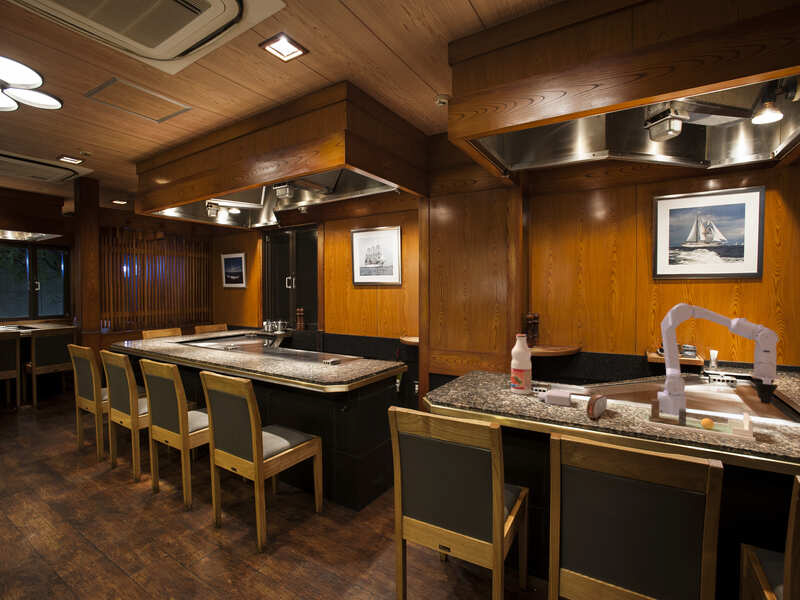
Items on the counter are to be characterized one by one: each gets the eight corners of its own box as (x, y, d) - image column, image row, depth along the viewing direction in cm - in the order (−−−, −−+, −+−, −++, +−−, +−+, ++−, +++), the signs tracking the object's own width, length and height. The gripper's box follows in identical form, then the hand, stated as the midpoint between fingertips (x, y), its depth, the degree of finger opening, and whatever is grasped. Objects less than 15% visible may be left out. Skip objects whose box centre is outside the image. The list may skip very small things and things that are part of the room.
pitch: (644, 428, 141) (644, 407, 141) (646, 419, 152) (646, 399, 152) (755, 446, 125) (755, 422, 125) (748, 434, 135) (748, 412, 135)
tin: (600, 411, 162) (600, 391, 162) (608, 413, 159) (608, 392, 159) (585, 419, 151) (585, 397, 151) (594, 421, 149) (594, 399, 149)
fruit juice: (533, 395, 188) (534, 335, 187) (513, 394, 188) (513, 335, 188) (528, 390, 197) (528, 333, 197) (508, 390, 198) (509, 333, 197)
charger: (535, 397, 184) (571, 402, 177) (532, 402, 176) (568, 407, 168) (535, 387, 184) (571, 391, 177) (532, 391, 175) (569, 396, 168)
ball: (701, 429, 136) (701, 418, 136) (700, 426, 139) (700, 416, 139) (714, 431, 134) (714, 420, 134) (713, 428, 137) (713, 418, 137)
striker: (648, 421, 144) (648, 400, 144) (649, 417, 148) (649, 397, 148) (686, 426, 138) (686, 405, 138) (685, 423, 142) (685, 402, 141)
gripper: (784, 366, 132) (783, 407, 132) (777, 361, 143) (776, 398, 144) (755, 364, 136) (754, 404, 136) (751, 359, 148) (750, 395, 148)
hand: (764, 401), depth 140 cm, fingers open, 7 cm apart
